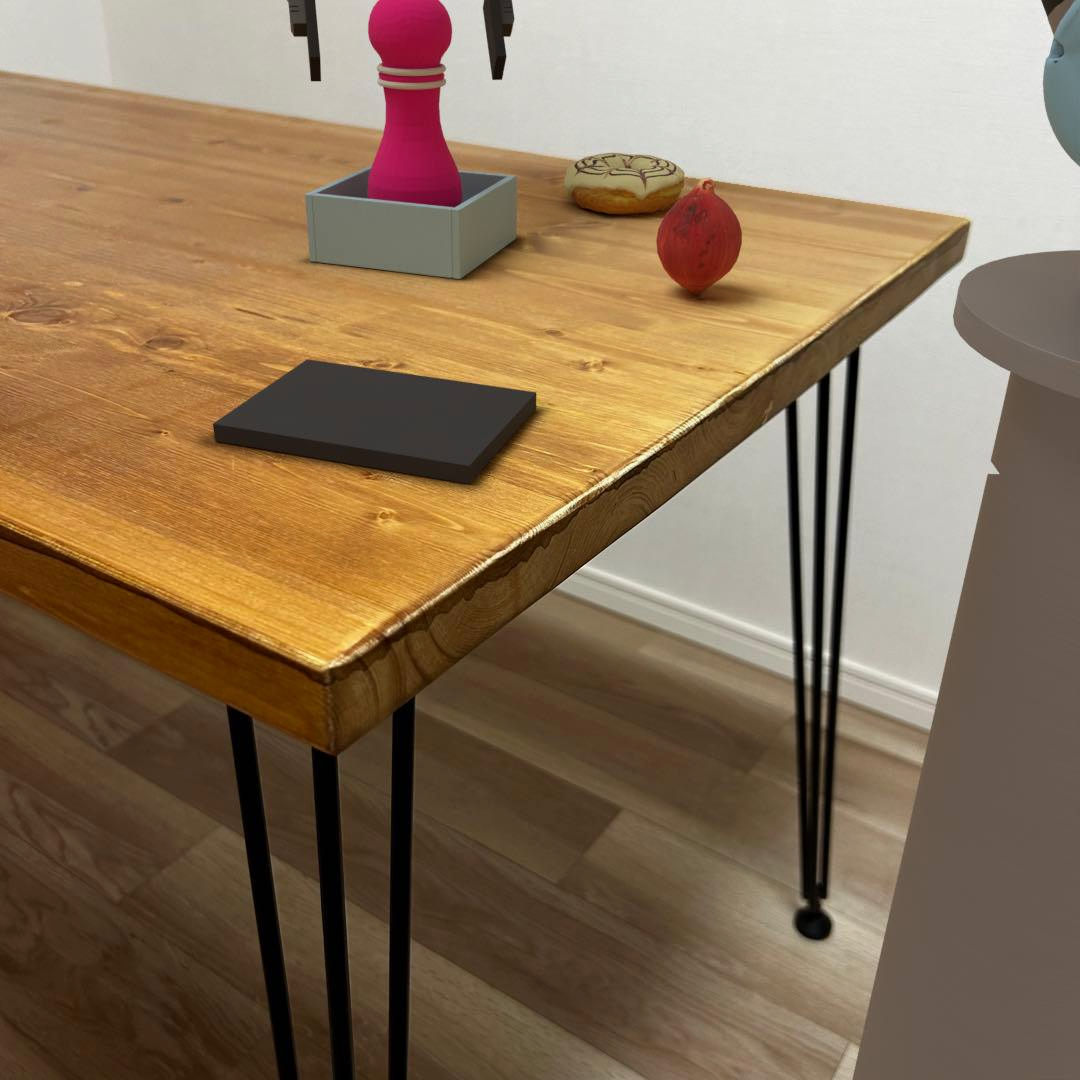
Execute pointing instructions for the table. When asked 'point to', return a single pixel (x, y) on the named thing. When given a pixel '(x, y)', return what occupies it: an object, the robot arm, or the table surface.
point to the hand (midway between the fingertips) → (408, 69)
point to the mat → (380, 420)
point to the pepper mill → (412, 104)
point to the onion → (699, 239)
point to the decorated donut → (624, 183)
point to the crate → (411, 226)
